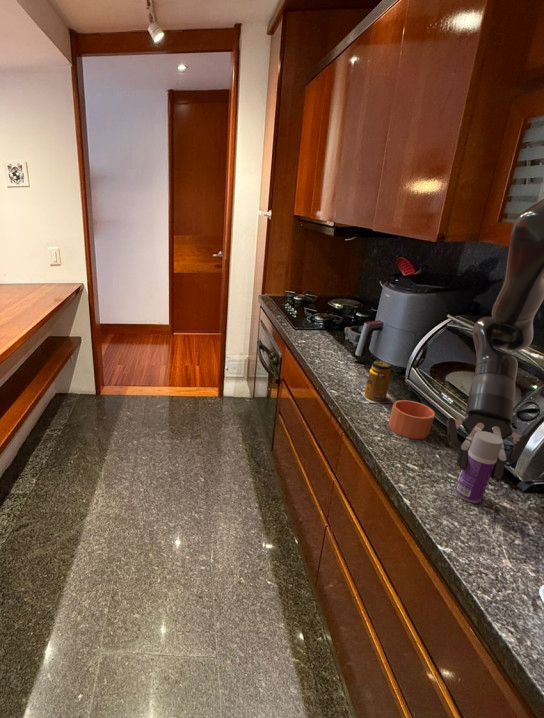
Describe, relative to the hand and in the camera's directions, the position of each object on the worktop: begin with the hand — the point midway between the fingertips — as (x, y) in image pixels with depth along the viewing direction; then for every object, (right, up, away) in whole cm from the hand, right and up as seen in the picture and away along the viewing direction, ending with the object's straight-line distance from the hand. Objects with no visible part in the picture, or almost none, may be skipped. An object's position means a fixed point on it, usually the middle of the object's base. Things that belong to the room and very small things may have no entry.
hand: (478, 473), depth 80 cm
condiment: (+4, +10, +44) cm, 46 cm away
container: (+1, -6, +4) cm, 8 cm away
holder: (+3, +4, +28) cm, 28 cm away
